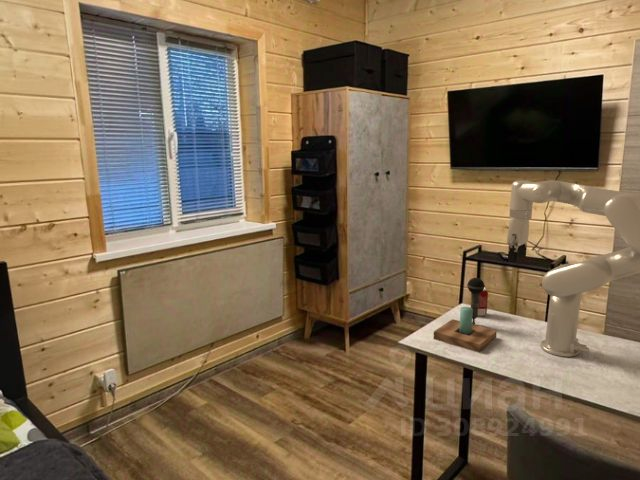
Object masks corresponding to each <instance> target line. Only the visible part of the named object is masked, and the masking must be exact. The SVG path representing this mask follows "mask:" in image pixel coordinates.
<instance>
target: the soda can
mask: <svg viewBox="0 0 640 480" xmlns="http://www.w3.org/2000/svg"><path fill="white" fill-rule="evenodd" d="M488 297H489V291H488V289H487V288H486V287H485V288H484V290H483V291H482V292H481V293H480V295H479V305H478V315H477V318H478V317H480V318H483V317H485V316H487V314H488Z"/></svg>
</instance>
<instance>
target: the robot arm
mask: <svg viewBox="0 0 640 480" xmlns="http://www.w3.org/2000/svg"><path fill="white" fill-rule="evenodd" d="M510 190H511V191H510V202H509V204H510V205H509V216H508V217H509V222H508V223H509V224H508V229H507V237H506V245H508V250H507V252H508V254H507V261H508V262H510V263H518V258H519V257H520V258H526V257H527V247H528V243H527V242H528V240H529V236H530V235H529V234H530V233H529V232H530V220H532V215H533V206H534V205H533V204H534V203H536V204H544V203H549V202H557V203H562V204H567V205H572V206H574V207H576V208H577V209H579V210H580V211H581V212H583V213H587V214H593V215H598V216H603V217H606V220H607V221H608V222H609V223H610V224H611V226H612V228H613V229H615V231H616V232H617V234H618V235H619V236H620V237H621V238H622V240H623V241H624V242H625V243H626V244H627V246H628V247H625V248H622V249H619V250H615V251H612V252H608V253H606V254H602V255H601V254H600V255H597V256H596V255H595V256H592V257H589V258H586V259H583V260H582V261H580V262H576V263H573V264H572V263H564V264H561V265H558V266H556V267H555V268H552V269H550V270H549V271H547V272H546V273H544V275H543V276H542V280H541V286H542V289H543V292H544V293H546V294H547V295H549V304H548V310H547V311H548V313H547V323H546V333H545V339H543V340H542V341H541V342H540V344H539V346H540V349H542V350H543V351H545V352H547V353H549V354H551V355H554V356H558V357H565V358H567V357H568V358H569V357H577V356H578V355H579V354H580V352H582V353H585V354H589V352H590V347H588V345H586V344H585V343H580V342H579V338H577V333H578V325H579V316H580V309H581V302H582V301H581V300H582V296H583V293H587V292H591V291H595V290H597V289H600V288H602V287H604V286H606V285H607V284H608V283H610V282H612V281H614V280H619V279H621V278H626V277H629V276H633V275H637V274H640V196H639V194H638V195H637V194H635V193H631V192H625V191H619V190H613V189H607V188H600V187H595V186H589V185H584V184H578V183H574V182H567V181H561V180H555V179H554V180H551V179H550V180H543V181H536V182H535V181H531V180H522V179H521V180H514V181H513V182H512V184H511V189H510Z"/></svg>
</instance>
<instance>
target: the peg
mask: <svg viewBox="0 0 640 480" xmlns="http://www.w3.org/2000/svg"><path fill="white" fill-rule="evenodd" d="M472 315H473V309H472V308H471V306H470V307H469V306H461V307H460V314H459V321H460V328H459V333H461V334H465V335H468V336H470V335H471V330H472V322H473V319H472Z"/></svg>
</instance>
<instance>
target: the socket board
mask: <svg viewBox="0 0 640 480" xmlns="http://www.w3.org/2000/svg"><path fill="white" fill-rule="evenodd" d="M459 328H460V320H457V319H454V318H453V319H450V320H449V321H447V322H446V323H444V324H442V325H441V326H440V327H438V328H437V329H435V330H433V340H436V341H440V342H443V343H446V344H450V345H454V346H457V347H460V348H463V349H466V350H470V351H473V352H477V353H480V352H482V350H484V349H485V348H486V347H487V346H489V345H490V344H491V343H492V342H494V341H495V340H496V339H497V334H498V333H497V332H498V331H497V330H495V329H491V328H488V327H484V326H480V325H476V324H475V325H473V324H472V330H471V335H470V336H468V335H465V334H461V333H459Z"/></svg>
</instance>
